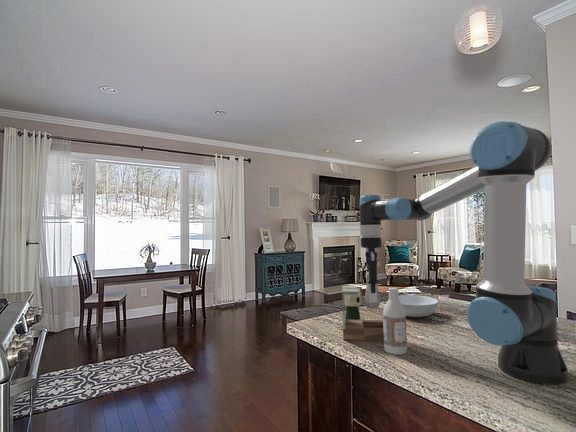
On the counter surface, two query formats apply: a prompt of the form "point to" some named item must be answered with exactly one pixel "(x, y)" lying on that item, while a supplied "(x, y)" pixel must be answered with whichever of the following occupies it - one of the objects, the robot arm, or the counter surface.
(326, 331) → the counter surface
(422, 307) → the serving bowl
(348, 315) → the character mug
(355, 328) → the socket station
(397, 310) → the bath foam
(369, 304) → the salt shaker
